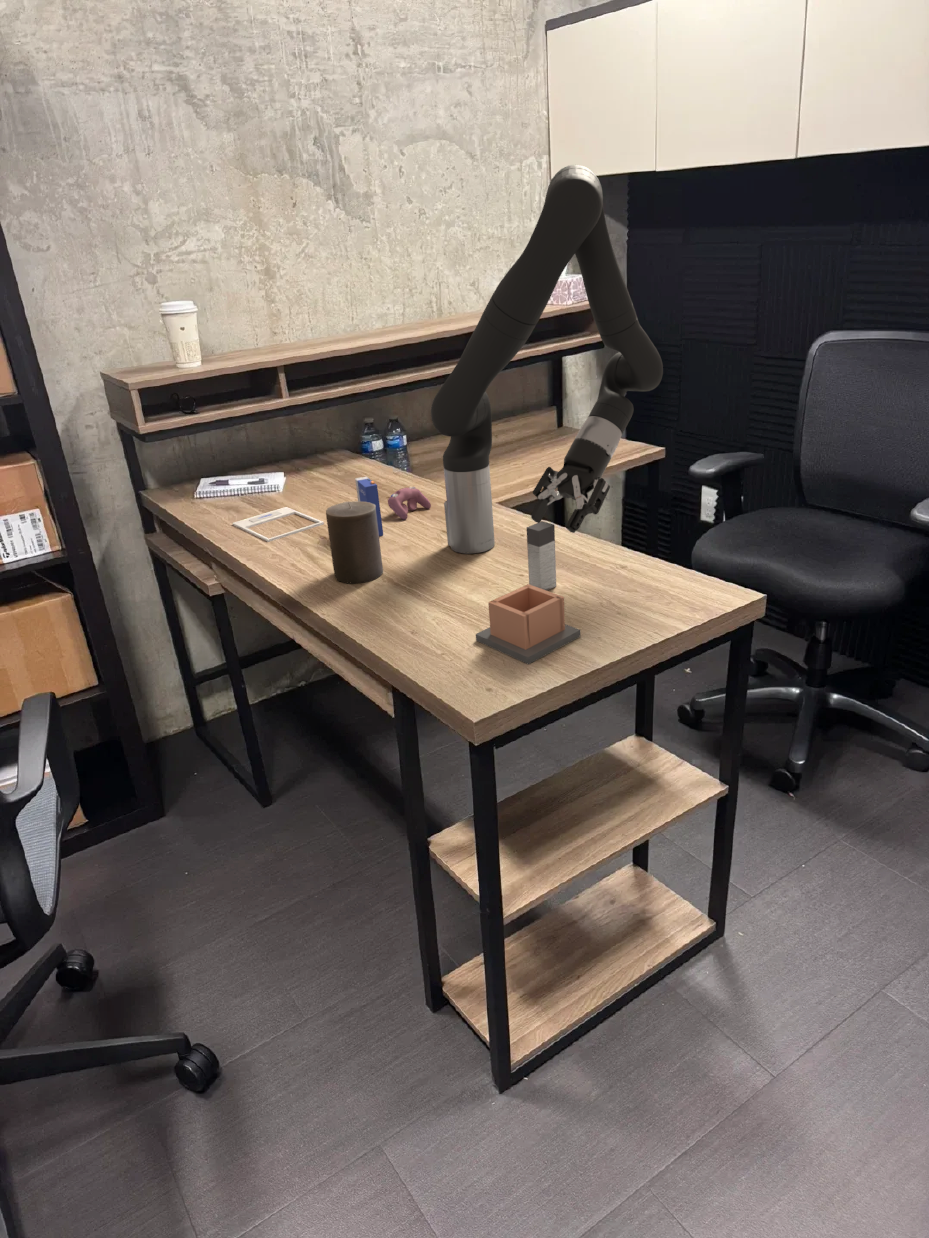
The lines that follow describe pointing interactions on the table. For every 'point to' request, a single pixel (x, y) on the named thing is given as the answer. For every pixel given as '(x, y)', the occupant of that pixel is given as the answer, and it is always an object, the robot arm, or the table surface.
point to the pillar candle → (354, 542)
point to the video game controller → (412, 499)
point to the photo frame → (270, 517)
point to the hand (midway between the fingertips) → (552, 525)
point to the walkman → (369, 497)
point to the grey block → (541, 555)
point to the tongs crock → (527, 624)
